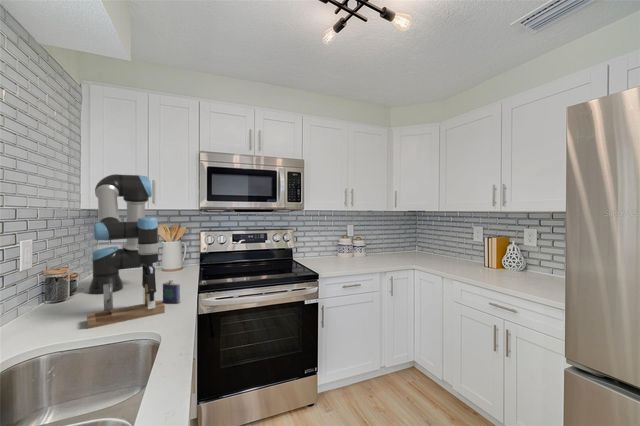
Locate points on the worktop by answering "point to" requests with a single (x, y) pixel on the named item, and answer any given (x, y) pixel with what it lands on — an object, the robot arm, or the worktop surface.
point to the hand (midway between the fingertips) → (149, 305)
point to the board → (124, 313)
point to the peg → (108, 297)
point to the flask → (171, 293)
